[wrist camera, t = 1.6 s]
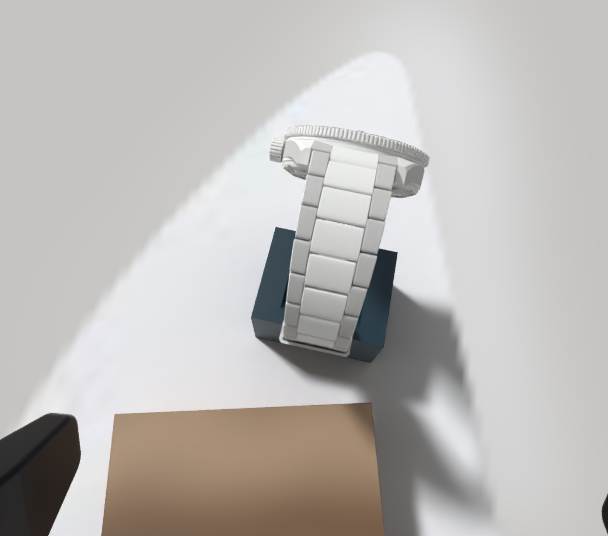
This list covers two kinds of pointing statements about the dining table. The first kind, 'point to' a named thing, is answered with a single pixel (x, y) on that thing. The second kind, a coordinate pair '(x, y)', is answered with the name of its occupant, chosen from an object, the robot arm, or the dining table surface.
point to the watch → (335, 241)
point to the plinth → (245, 473)
